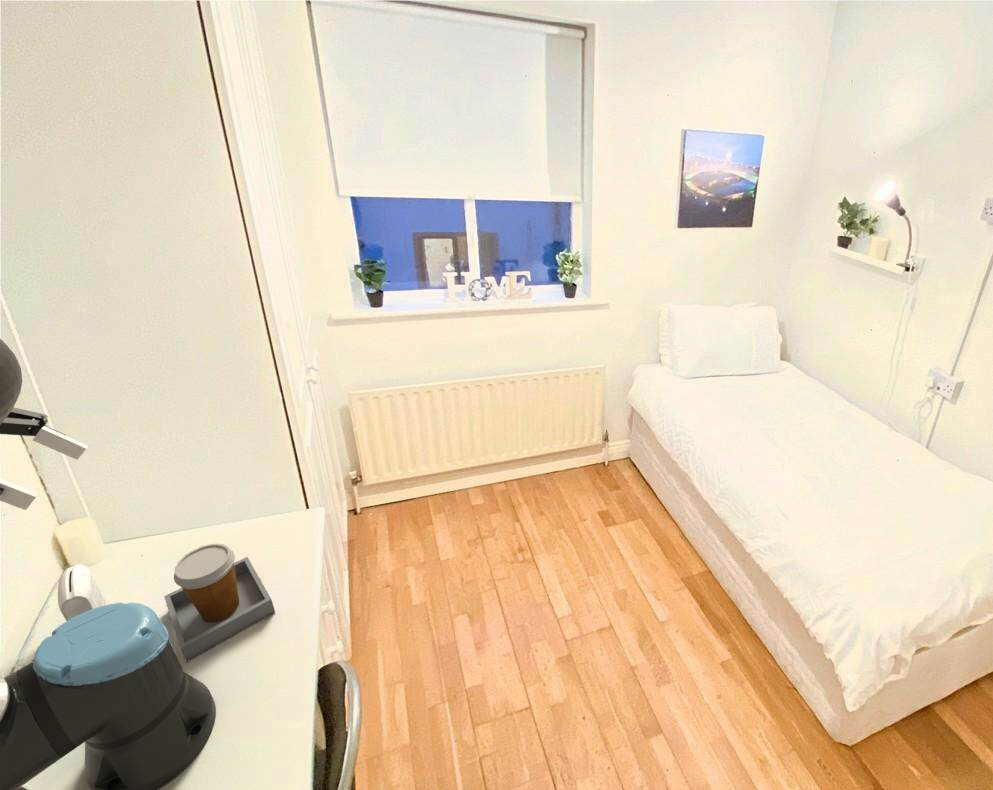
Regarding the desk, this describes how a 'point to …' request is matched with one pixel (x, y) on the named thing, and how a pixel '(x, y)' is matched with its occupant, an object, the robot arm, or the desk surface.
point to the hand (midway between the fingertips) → (59, 475)
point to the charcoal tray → (206, 635)
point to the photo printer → (78, 592)
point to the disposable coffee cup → (209, 581)
